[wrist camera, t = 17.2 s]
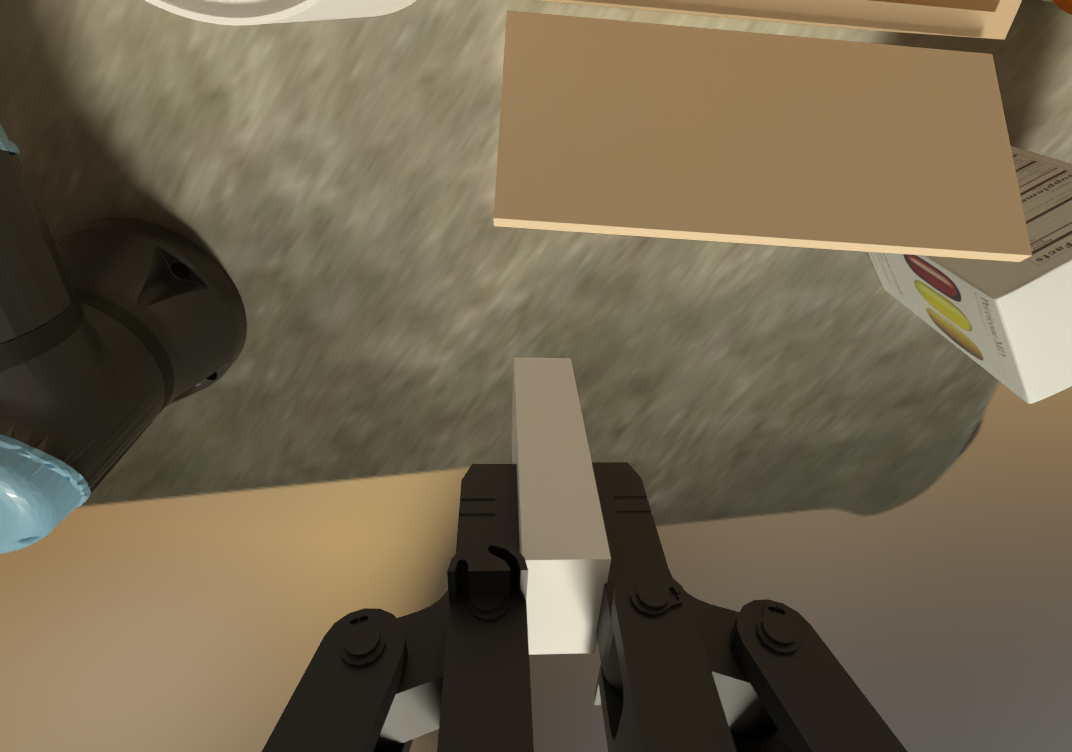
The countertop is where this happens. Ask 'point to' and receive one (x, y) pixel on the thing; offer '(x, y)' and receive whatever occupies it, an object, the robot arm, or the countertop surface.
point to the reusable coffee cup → (1063, 4)
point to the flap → (754, 140)
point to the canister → (277, 10)
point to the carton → (851, 13)
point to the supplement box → (1004, 290)
